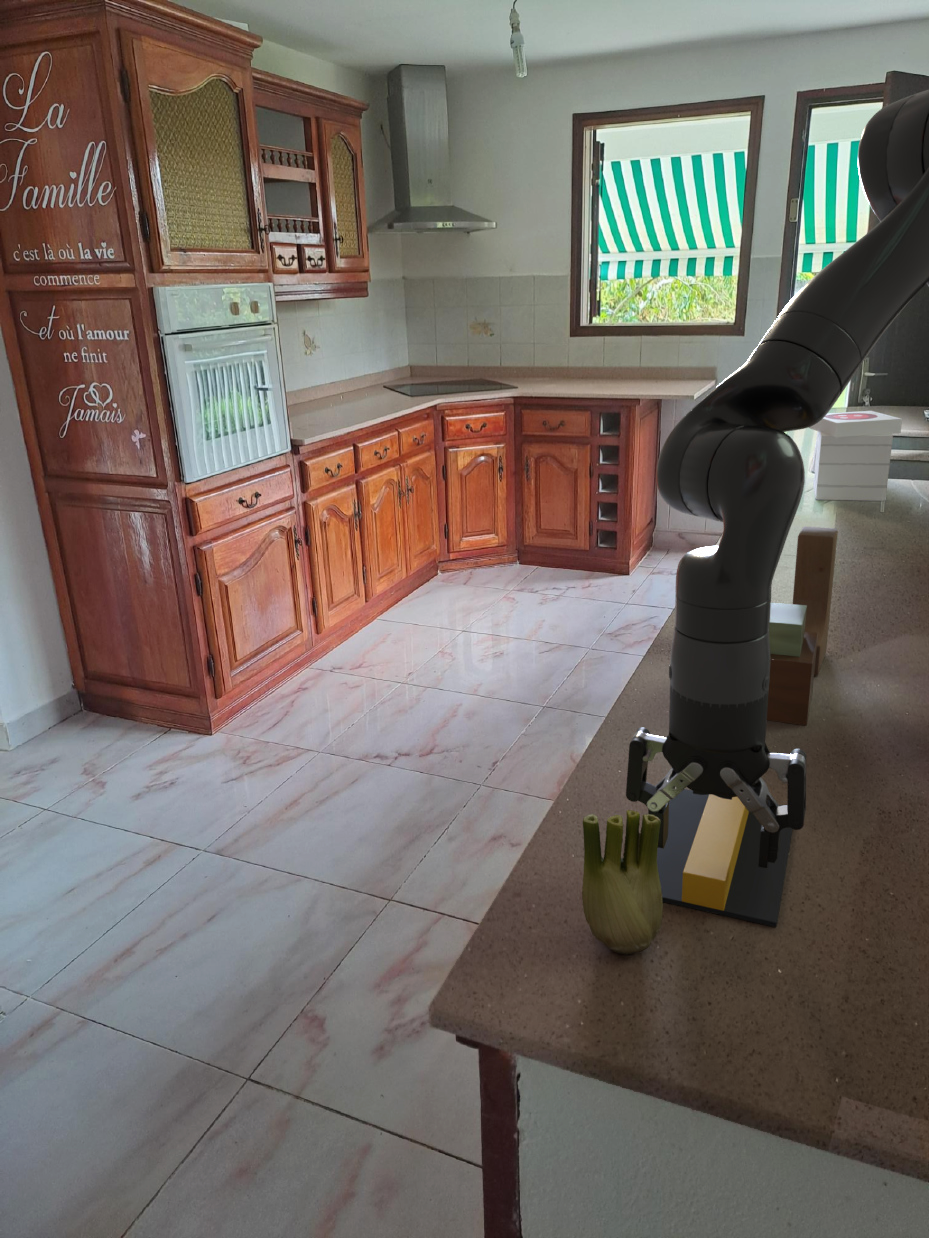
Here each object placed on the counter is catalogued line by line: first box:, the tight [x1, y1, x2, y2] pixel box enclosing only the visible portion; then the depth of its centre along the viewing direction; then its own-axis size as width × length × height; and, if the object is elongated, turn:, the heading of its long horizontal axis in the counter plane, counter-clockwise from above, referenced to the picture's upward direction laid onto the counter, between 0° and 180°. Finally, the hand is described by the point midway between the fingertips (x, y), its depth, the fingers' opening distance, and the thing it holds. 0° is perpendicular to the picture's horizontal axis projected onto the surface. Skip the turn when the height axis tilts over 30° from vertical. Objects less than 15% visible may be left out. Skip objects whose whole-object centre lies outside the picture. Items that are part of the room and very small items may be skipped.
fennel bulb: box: [581, 809, 664, 955], centre depth 70 cm, size 6×5×12 cm
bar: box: [682, 794, 749, 911], centre depth 81 cm, size 18×4×3 cm, turn 156°
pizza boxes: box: [808, 410, 903, 502], centre depth 212 cm, size 19×30×18 cm, turn 162°
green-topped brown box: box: [767, 601, 818, 726], centre depth 108 cm, size 10×10×12 cm
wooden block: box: [792, 526, 839, 677], centre depth 117 cm, size 9×4×18 cm, turn 153°
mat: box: [657, 788, 794, 928], centre depth 82 cm, size 18×12×1 cm, turn 156°
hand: (711, 852), depth 75 cm, fingers open, 8 cm apart
